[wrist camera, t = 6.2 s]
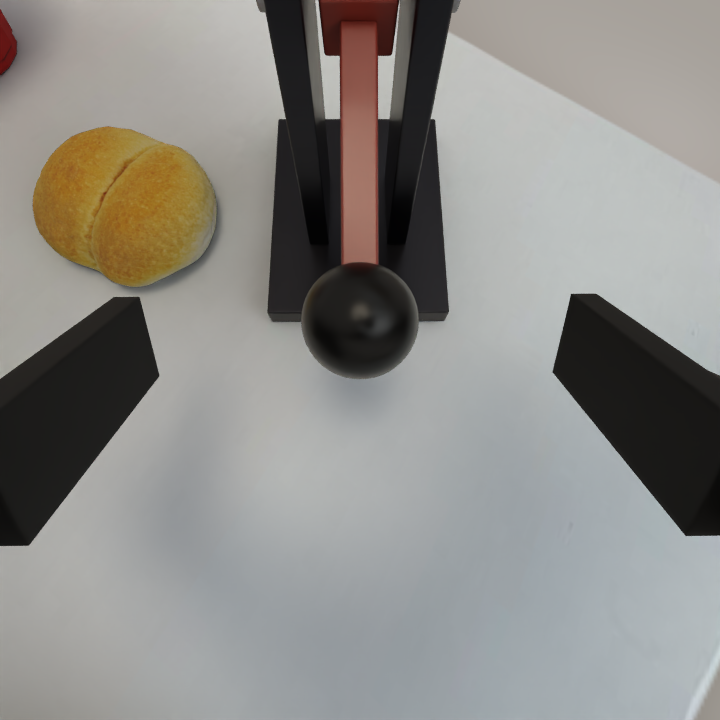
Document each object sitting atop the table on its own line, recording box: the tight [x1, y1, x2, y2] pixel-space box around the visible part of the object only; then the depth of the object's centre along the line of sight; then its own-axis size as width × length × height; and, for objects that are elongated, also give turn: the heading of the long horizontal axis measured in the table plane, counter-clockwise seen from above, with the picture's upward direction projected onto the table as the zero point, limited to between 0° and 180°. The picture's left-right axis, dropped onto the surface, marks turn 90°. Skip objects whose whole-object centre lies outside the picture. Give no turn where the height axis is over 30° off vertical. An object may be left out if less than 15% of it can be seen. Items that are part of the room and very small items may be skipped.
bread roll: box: [33, 126, 217, 287], centre depth 22 cm, size 8×9×4 cm
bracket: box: [256, 0, 460, 322], centre depth 18 cm, size 12×9×14 cm
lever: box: [301, 0, 419, 379], centre depth 13 cm, size 13×4×4 cm, turn 0°
